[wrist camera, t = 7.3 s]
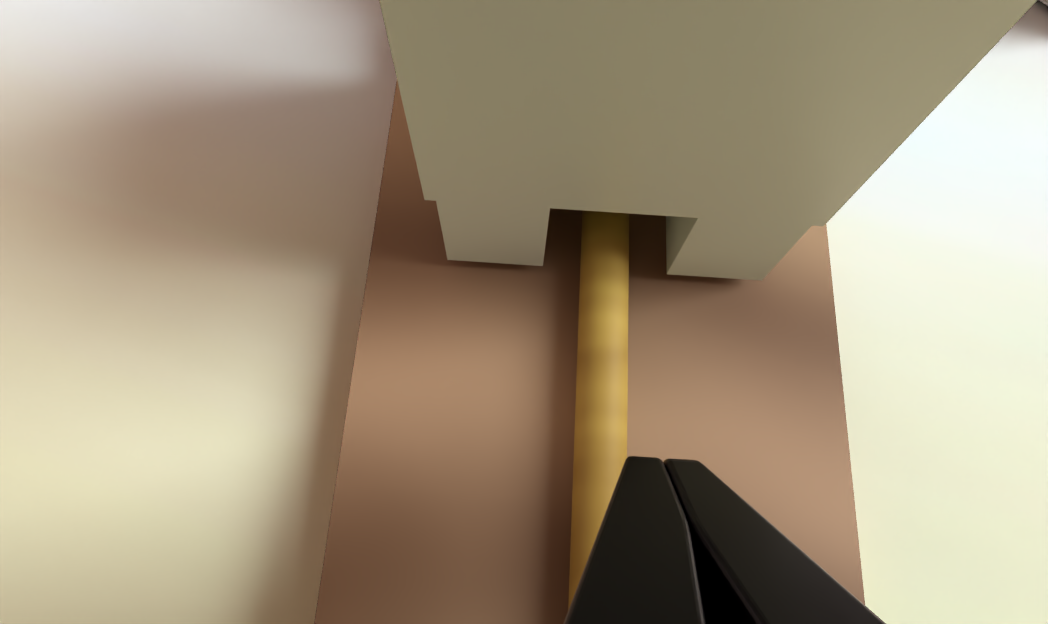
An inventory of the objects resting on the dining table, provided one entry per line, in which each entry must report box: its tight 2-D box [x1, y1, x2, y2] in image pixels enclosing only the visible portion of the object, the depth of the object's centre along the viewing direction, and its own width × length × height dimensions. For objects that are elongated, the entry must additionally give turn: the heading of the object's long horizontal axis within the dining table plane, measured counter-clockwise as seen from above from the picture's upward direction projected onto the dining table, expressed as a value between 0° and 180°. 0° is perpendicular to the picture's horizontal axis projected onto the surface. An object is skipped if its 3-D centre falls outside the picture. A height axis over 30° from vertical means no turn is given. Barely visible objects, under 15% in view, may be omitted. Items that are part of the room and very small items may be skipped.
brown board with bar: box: [314, 81, 865, 624], centre depth 13 cm, size 22×10×6 cm, turn 176°
